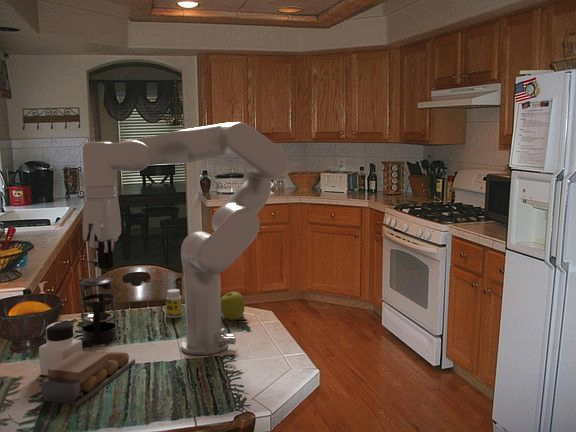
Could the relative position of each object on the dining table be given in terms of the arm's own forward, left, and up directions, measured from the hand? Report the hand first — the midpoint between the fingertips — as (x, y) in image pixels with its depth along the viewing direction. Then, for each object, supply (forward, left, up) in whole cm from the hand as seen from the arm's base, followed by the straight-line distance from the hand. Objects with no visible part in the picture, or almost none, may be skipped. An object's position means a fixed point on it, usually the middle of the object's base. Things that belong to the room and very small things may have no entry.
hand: (105, 267), depth 137 cm
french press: (+14, -17, -25) cm, 34 cm away
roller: (0, +14, -25) cm, 29 cm away
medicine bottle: (+10, +6, -25) cm, 28 cm away
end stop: (0, +19, -25) cm, 32 cm away
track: (0, +9, -25) cm, 27 cm away
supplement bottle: (+2, -40, -25) cm, 47 cm away
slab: (0, +13, -21) cm, 25 cm away
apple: (-17, -42, -25) cm, 52 cm away
